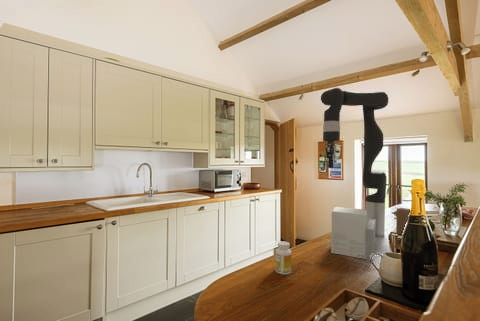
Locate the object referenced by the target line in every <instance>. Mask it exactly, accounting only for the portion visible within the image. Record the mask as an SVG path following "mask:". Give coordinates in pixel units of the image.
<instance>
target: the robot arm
mask: <svg viewBox="0 0 480 321" xmlns="http://www.w3.org/2000/svg"><path fill="white" fill-rule="evenodd" d="M320 101H321V103H322V104H323V105H325V106H327V107H328V106H329V108H327V109H326V110H324V112H323V125H322V126H323V127H322V141H323V142H324V143H326V145H325V154H326V160H327V168H328V169H333V168H334V163H335V162H334V161H335V158H336V154H337V145H336V143H339V142H340V139H341V123H340V120H341V119H340V117H341V116H340V115H341V110H342V107H343V106H346V107H347V106H348V107H355V106H356V107H357V106H362V113H363V114H362V115H363V168H362V185H363V187H364V188H366V189H370V190H371V189H373V190H376V192H375V193H372V194H368V195H365V204H364V205H365V209H366V214H367V225H368V222H369V219H370V218H371V219H376V227H375V237H383V236H385V231H386V228H385V226H386V225H385V224H386V220H385V219H386V195H387V193H386V192H387V191H386V190H387V175H386V172H384V171H372V167H373V164H374V163H375V160H376V159H377V158H378V156H379V155H380V153H381V151H382V150H383V148H384V132H383V131H382V129H381V127H380V126H379V124H378V123H377V121H376V118H375V111H376V110H383V109H384V108H386V107H387V106H388V104H389V96H388V94H387V93H386V92H384V91H383V90H382V91H373V92H362V91H353V90H342V88H340V87H334V88H331V89H328V90H325V91H324V92H322V94H321V96H320Z"/></svg>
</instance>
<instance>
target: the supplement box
mask: <svg viewBox="0 0 480 321" xmlns="http://www.w3.org/2000/svg"><path fill="white" fill-rule="evenodd" d="M366 228H367V214H366V209H362V208H351V207H343V206H342V207H341V206H335V207H334V208H333V209H332V211H331V240H330V241H331V242H330V243H331V245H330V247H331V248H330V253H331V254H335V255H342V256H346V257H347V256H348V257H354V258H358V259H364V260H366Z"/></svg>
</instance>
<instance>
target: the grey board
mask: <svg viewBox="0 0 480 321" xmlns="http://www.w3.org/2000/svg"><path fill="white" fill-rule="evenodd" d="M375 227H376V219H371V218H370V219H369V222H368V225H367V228H366V259H365V260H367V261H371V260H370V255H371V254H372V253H374V254H375V249H376V236H375Z"/></svg>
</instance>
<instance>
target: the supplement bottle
mask: <svg viewBox="0 0 480 321" xmlns="http://www.w3.org/2000/svg"><path fill="white" fill-rule="evenodd" d="M290 245H291V244H290V242H288V241H284V240H283V241H281V240H280V241H277V248H276V249H275V259H274V260H275V264H274V265H275V266H274V268H275V269H274V270H275V272H276V273H277V274H280V275H285V276H286V275H290V274H291V273H292V256H293V255H292V254H293V253H292V250H291V249H290Z"/></svg>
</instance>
